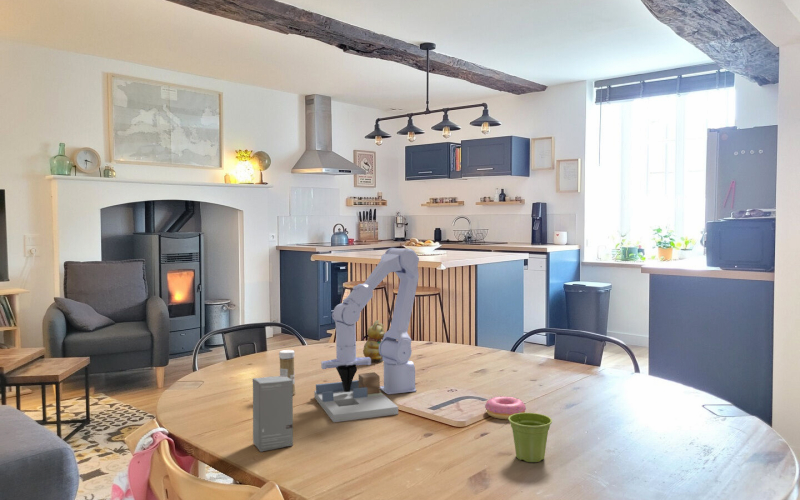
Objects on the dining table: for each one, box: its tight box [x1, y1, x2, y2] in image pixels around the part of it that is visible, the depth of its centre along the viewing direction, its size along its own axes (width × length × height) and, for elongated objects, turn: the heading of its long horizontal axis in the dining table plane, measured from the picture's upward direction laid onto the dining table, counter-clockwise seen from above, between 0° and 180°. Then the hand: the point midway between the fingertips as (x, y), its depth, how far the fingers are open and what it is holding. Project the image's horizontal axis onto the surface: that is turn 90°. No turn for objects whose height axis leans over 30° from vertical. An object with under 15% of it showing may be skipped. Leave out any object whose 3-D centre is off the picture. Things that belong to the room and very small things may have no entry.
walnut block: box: [358, 372, 381, 394], centre depth 180 cm, size 5×5×5 cm
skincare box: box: [252, 375, 294, 453], centre depth 143 cm, size 8×7×16 cm
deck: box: [313, 379, 399, 423], centre depth 173 cm, size 18×24×4 cm
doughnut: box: [484, 395, 527, 420], centre depth 164 cm, size 11×11×4 cm
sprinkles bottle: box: [278, 349, 296, 396], centre depth 184 cm, size 5×5×13 cm
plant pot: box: [507, 412, 553, 463], centre depth 134 cm, size 9×9×9 cm
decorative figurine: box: [362, 319, 386, 363], centre depth 228 cm, size 10×8×15 cm
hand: (346, 390), depth 178 cm, fingers closed
